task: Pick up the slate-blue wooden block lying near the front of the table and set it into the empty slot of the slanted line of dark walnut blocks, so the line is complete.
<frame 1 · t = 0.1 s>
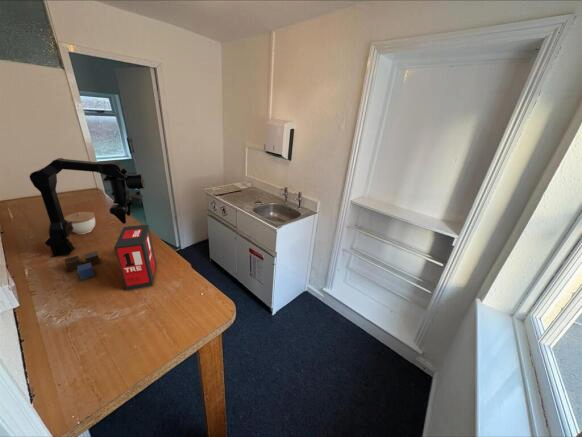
hand: (126, 219, 114), 15 cm above the table, tool pointing down, fingers open, 9 cm apart
walnut block 2: (93, 262, 105), on the table
walnut block 3: (127, 253, 113), on the table
walnut block 1: (74, 267, 101), on the table
cleaning product box: (142, 275, 100), on the table
blue block: (87, 275, 97), on the table
lidded bowl: (84, 231, 129), on the table
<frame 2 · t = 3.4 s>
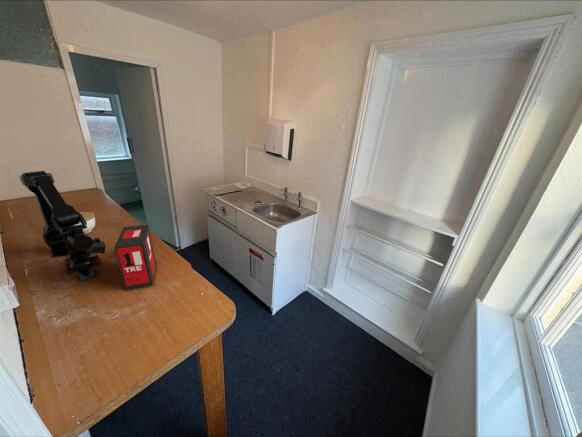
hand: (86, 273, 97), 1 cm above the table, tool pointing down, fingers closed on blue block, 4 cm apart
blue block: (87, 275, 97), on the table, touching gripper
everything else where it was.
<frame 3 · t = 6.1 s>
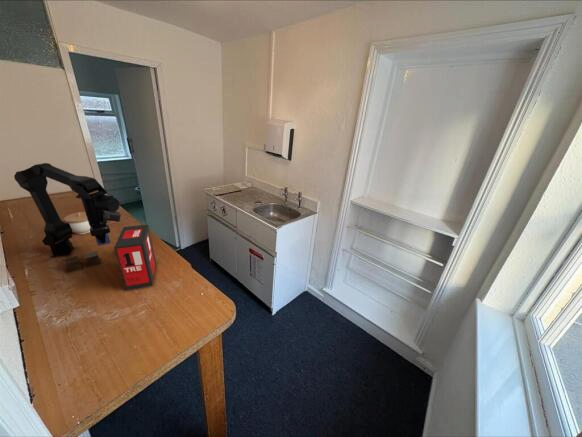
hand: (103, 240, 104), 10 cm above the table, tool pointing down, fingers closed on blue block, 4 cm apart
blue block: (103, 242, 104), point 9 cm above the table, touching gripper
everything else where it was.
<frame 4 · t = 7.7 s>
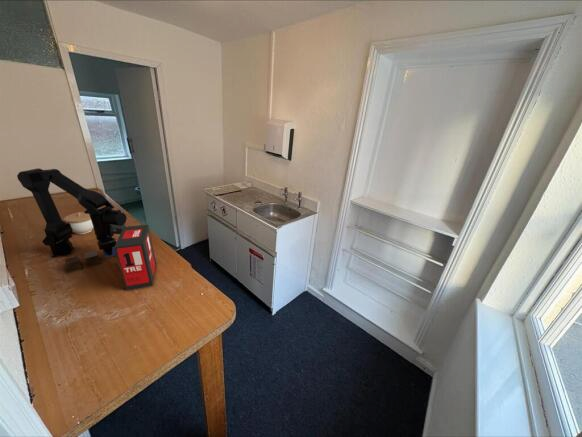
hand: (109, 252, 108), 3 cm above the table, tool pointing down, fingers closed on blue block, 4 cm apart
blue block: (110, 254, 108), point 2 cm above the table, touching gripper
everything else where it was.
when the fingers open (1 cm above the table, at t = 8.7 s): blue block stays where it is, on the table.
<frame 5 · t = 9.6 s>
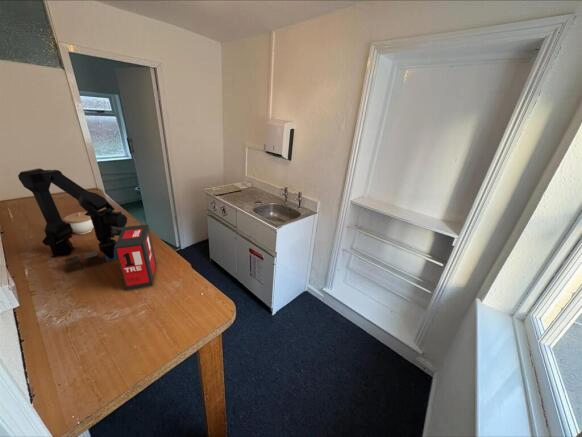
hand: (110, 254, 108), 2 cm above the table, tool pointing down, fingers open, 9 cm apart
blue block: (111, 257, 109), on the table
everything else where it was.
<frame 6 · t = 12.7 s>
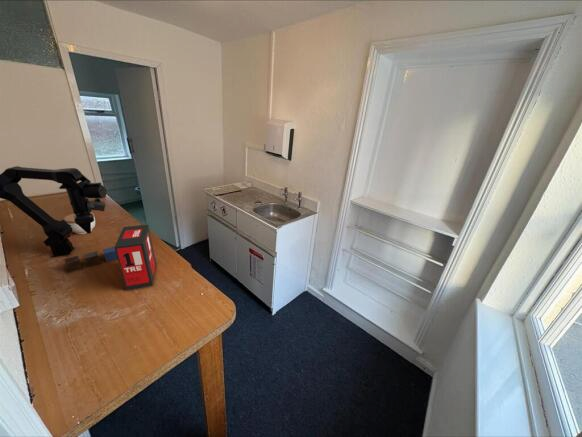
hand: (88, 229, 108), 12 cm above the table, tool pointing down, fingers open, 9 cm apart
nothing on the table moved.
at the end: blue block 0.1 cm from the target spot, on the table; blue block tilted 0°; walnut block 2 moved 0.0 cm from its start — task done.
